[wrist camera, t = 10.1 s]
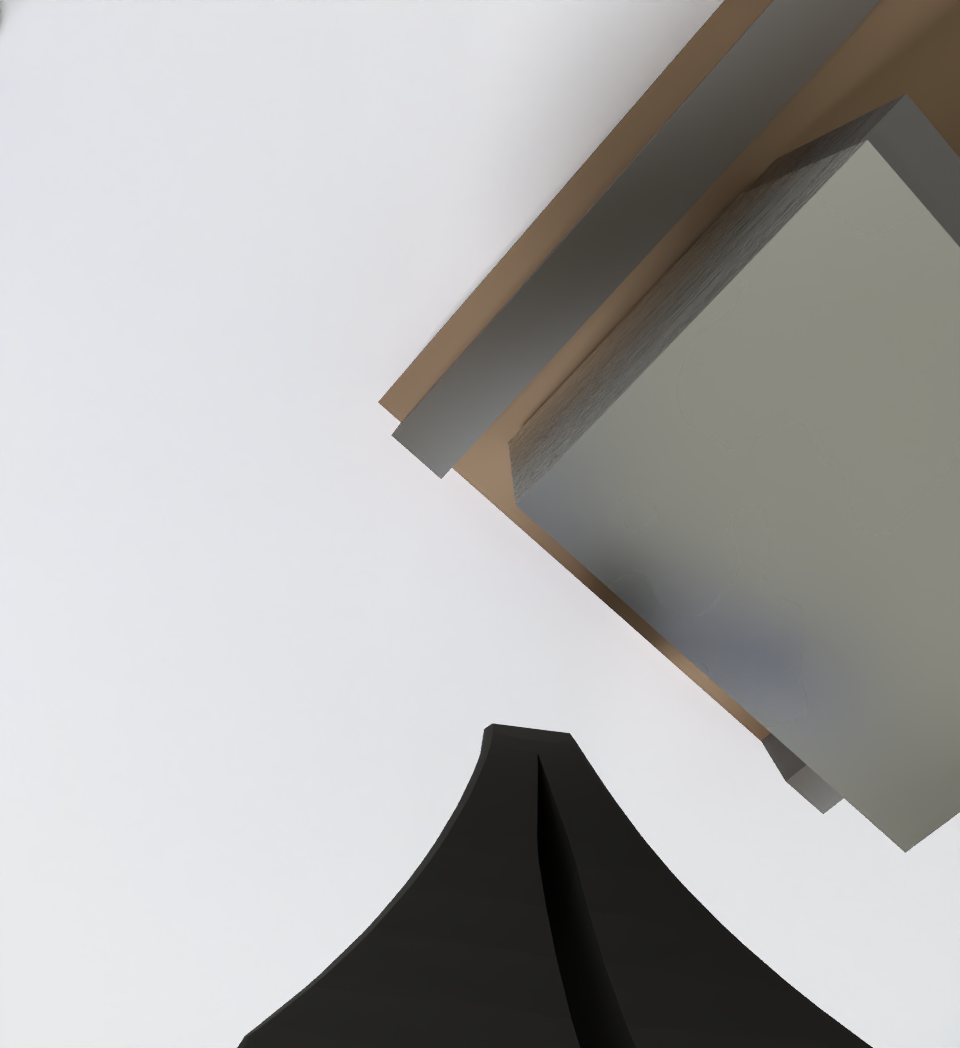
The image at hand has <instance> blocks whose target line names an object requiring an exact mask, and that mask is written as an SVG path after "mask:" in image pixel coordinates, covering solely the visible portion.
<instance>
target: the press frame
mask: <svg viewBox="0 0 960 1048" xmlns="http://www.w3.org/2000/svg"><path fill="white" fill-rule="evenodd" d="M904 94H907V95H908V96H909V97H910V99H911V100H912V101H913V102H914V103H915V105H916V106H917V107H918V108H919V110H920V111H921V112H922V113H923V114H924V116H925V117H926V118H927V119H928V120H929V122H930V123H931V124H932V125H933V126H934V128H935V129H936V130H937V131H938V132H939V134H940V135H941V136H942V137H943V138H944V140H945V141H946V142H947V143H948V144H949V146H950V147H951V148H952V149H953V150H954V152H955V153H956V154H957V155H958V156H959V158H960V0H725V1H724V2H723V3H722V4H721V5H720V6H719V8H718V9H717V10H716V11H715V12H714V13H713V14H712V16H711V17H710V18H709V19H708V20H707V21H706V23H705V24H704V25H703V26H702V27H701V28H700V30H699V31H698V32H697V33H696V34H695V35H694V36H693V38H692V39H691V40H690V41H689V42H688V43H687V45H686V46H685V47H684V48H683V49H682V50H681V52H680V53H679V54H678V55H677V56H676V57H675V59H674V60H673V61H672V62H671V63H670V64H669V65H668V67H667V68H666V69H665V70H664V71H663V72H662V74H661V75H660V76H659V77H658V78H657V79H656V81H655V82H654V83H653V84H652V85H651V86H650V88H649V89H648V90H647V91H646V92H645V93H644V94H643V96H642V97H641V98H640V99H639V100H638V101H637V103H636V104H635V105H634V106H633V107H632V108H631V110H630V111H629V112H628V113H627V114H626V115H625V117H624V118H623V119H622V120H621V121H620V122H619V123H618V125H617V126H616V127H615V128H614V129H613V130H612V132H611V133H610V134H609V135H608V136H607V137H606V139H605V140H604V141H603V142H602V143H601V144H600V145H599V147H598V148H597V149H596V150H595V151H594V152H593V154H592V155H591V156H590V157H589V158H588V159H587V161H586V162H585V163H584V164H583V165H582V166H581V168H580V169H579V170H578V171H577V172H576V173H575V174H574V176H573V177H572V178H571V179H570V180H569V181H568V183H567V184H566V185H565V186H564V187H563V188H562V190H561V191H560V192H559V193H558V194H557V195H556V197H555V198H554V199H553V200H552V201H551V202H550V203H549V205H548V206H547V207H546V208H545V209H544V210H543V212H542V213H541V214H540V215H539V216H538V217H537V219H536V220H535V221H534V222H533V223H532V224H531V226H530V227H529V228H528V229H527V230H526V231H525V232H524V234H523V235H522V236H521V237H520V238H519V239H518V241H517V242H516V243H515V244H514V245H513V246H512V248H511V249H510V250H509V251H508V252H507V253H506V255H505V256H504V257H503V258H502V259H501V260H500V261H499V263H498V264H497V265H496V266H495V267H494V268H493V270H492V271H491V272H490V273H489V274H488V275H487V277H486V278H485V279H484V280H483V281H482V282H481V283H480V285H479V286H478V287H477V288H476V289H475V290H474V292H473V293H472V294H471V295H470V296H469V297H468V299H467V300H466V301H465V302H464V303H463V304H462V306H461V307H460V308H459V309H458V310H457V311H456V312H455V314H454V315H453V316H452V317H451V318H450V319H449V321H448V322H447V323H446V324H445V325H444V326H443V328H442V329H441V330H440V331H439V332H438V333H437V335H436V336H435V337H434V338H433V339H432V340H431V341H430V343H429V344H428V345H427V346H426V347H425V348H424V350H423V351H422V352H421V353H420V354H419V355H418V357H417V358H416V359H415V360H414V361H413V362H412V364H411V365H410V366H409V367H408V368H407V369H406V370H405V372H404V373H403V374H402V375H401V376H400V377H399V379H398V380H397V381H396V382H395V383H394V384H393V386H392V387H391V388H390V389H389V390H388V391H387V392H386V394H385V395H384V396H383V397H382V398H381V399H380V401H379V403H380V404H381V405H382V406H383V407H384V408H385V409H386V410H388V411H389V412H390V413H391V414H392V415H393V416H394V417H395V418H397V419H398V420H399V421H400V422H401V423H400V425H399V426H398V427H397V429H396V430H395V431H394V433H393V434H392V436H393V437H394V438H395V439H396V440H397V441H399V442H400V443H401V444H402V445H403V446H404V447H405V448H406V449H408V450H409V451H410V452H411V453H412V454H413V455H414V456H416V457H417V458H418V459H419V460H420V461H421V462H422V463H424V464H425V465H426V466H427V467H428V468H429V469H430V470H432V471H433V472H434V473H435V474H436V475H437V476H438V477H440V478H441V479H442V478H443V477H444V475H445V474H446V473H447V472H448V471H449V470H450V469H451V468H453V469H454V470H455V471H457V472H458V473H459V474H460V475H461V476H462V477H463V478H464V479H466V480H467V481H468V482H469V483H470V484H471V485H472V486H473V487H475V488H476V489H477V490H478V491H479V492H480V493H481V494H483V495H484V496H485V497H486V498H487V499H488V500H489V501H490V502H492V503H493V504H494V505H495V506H496V507H497V508H498V509H499V510H501V511H502V512H503V513H504V514H505V515H506V516H507V517H509V518H510V519H511V520H512V521H513V522H514V523H515V524H516V525H518V526H519V527H520V528H521V529H522V530H523V531H524V532H525V533H527V534H528V535H529V536H530V537H531V538H532V539H533V540H535V541H536V542H537V543H538V544H539V545H540V546H541V547H542V548H544V549H545V550H546V551H547V552H548V553H549V554H550V555H551V556H553V557H554V558H555V559H556V560H557V561H558V562H559V563H561V564H562V565H563V566H564V567H565V568H566V569H567V570H568V571H570V572H571V573H572V574H573V575H574V576H575V577H576V578H577V579H579V580H580V581H581V582H582V583H583V584H584V585H585V586H587V587H588V588H589V589H590V590H591V591H592V592H593V593H594V594H596V595H597V596H598V597H599V598H600V599H601V600H602V601H603V602H605V603H606V604H607V605H608V606H609V607H610V608H611V609H613V610H614V611H615V612H616V613H617V614H618V615H619V616H620V617H622V618H623V619H624V620H625V621H626V622H627V623H628V624H629V625H631V626H632V627H633V628H634V629H635V630H636V631H637V632H639V633H640V634H641V635H642V636H643V637H644V638H645V639H646V640H648V641H649V642H650V643H651V644H652V645H653V646H654V647H655V648H657V649H658V650H659V651H660V652H661V653H662V654H663V655H665V656H666V657H667V658H668V659H669V660H670V661H671V662H672V663H674V664H675V665H676V666H677V667H678V668H679V669H680V670H681V671H683V672H684V673H685V674H686V675H687V676H688V677H689V678H690V679H692V680H693V681H694V682H695V683H696V684H697V685H698V686H700V687H701V688H702V689H703V690H704V691H705V692H706V693H707V694H709V695H710V696H711V697H712V698H713V699H714V700H715V701H716V702H718V703H719V704H720V705H721V706H722V707H723V708H724V709H726V710H727V711H728V712H729V713H730V714H731V715H732V716H733V717H735V718H736V719H737V720H738V721H739V722H740V723H741V724H742V725H744V726H745V727H746V728H747V729H748V730H749V731H750V732H752V733H753V734H754V735H755V736H756V737H757V738H758V739H759V740H761V741H762V743H763V745H764V746H765V748H766V750H767V751H768V753H769V755H770V756H771V758H772V759H773V761H774V763H775V764H776V766H777V768H778V769H779V771H780V773H781V774H782V776H783V777H784V779H785V781H786V782H787V783H788V784H789V785H791V786H792V787H793V788H794V789H795V790H796V791H797V792H799V793H800V794H801V795H802V796H803V797H804V798H805V799H807V800H808V801H809V802H810V803H811V804H812V805H813V806H815V807H816V808H817V809H818V810H819V811H820V812H821V813H823V814H824V813H825V812H827V811H828V810H829V809H830V808H832V807H833V806H834V805H836V804H837V803H838V802H839V801H841V800H842V799H843V798H844V797H842V796H841V795H840V794H839V793H838V792H837V791H836V790H835V789H833V788H832V787H831V786H830V785H829V784H828V783H827V782H826V781H824V780H823V779H822V778H821V777H820V776H819V775H818V774H817V773H815V772H814V771H813V770H812V769H811V768H810V767H809V766H808V765H806V764H805V763H804V762H803V761H802V760H801V759H800V758H799V757H797V756H796V755H795V754H794V753H793V752H792V751H791V750H790V749H789V748H787V747H786V746H785V745H784V744H783V743H782V742H781V741H780V740H778V739H777V738H776V737H775V736H774V735H773V734H772V733H771V732H769V731H768V730H767V729H766V728H765V727H764V726H763V725H762V724H760V723H759V722H758V721H757V720H756V719H755V718H754V717H753V716H751V715H750V714H749V713H748V712H747V711H746V710H745V709H744V708H743V707H741V706H740V705H739V704H738V703H737V702H736V701H735V700H734V699H732V698H731V697H730V696H729V695H728V694H727V693H726V692H725V691H723V690H722V689H721V688H720V687H719V686H718V685H717V684H716V683H714V682H713V681H712V680H711V679H710V678H709V677H708V676H707V675H705V674H704V673H703V672H702V671H701V670H700V669H699V668H698V667H697V666H695V665H694V664H693V663H692V662H691V661H690V660H689V659H688V658H686V657H685V656H684V655H683V654H682V653H681V652H680V651H679V650H677V649H676V648H675V647H674V646H673V645H672V644H671V643H670V642H668V641H667V640H666V639H665V638H664V637H663V636H662V635H661V634H659V633H658V632H657V631H656V630H655V629H654V628H653V627H652V626H651V625H649V624H648V623H647V622H646V621H645V620H644V619H643V618H642V617H640V616H639V615H638V614H637V613H636V612H635V611H634V610H633V609H631V608H630V607H629V606H628V605H627V604H626V603H625V602H624V601H622V600H621V599H620V598H619V597H618V596H617V595H616V594H615V593H613V592H612V591H611V590H610V589H609V588H608V587H607V586H606V585H605V584H603V583H602V582H601V581H600V580H599V579H598V578H597V577H596V576H594V575H593V574H592V573H591V572H590V571H589V570H588V569H587V568H585V567H584V566H583V565H582V564H581V563H580V562H579V561H578V560H576V559H575V558H574V557H573V556H572V555H571V554H570V553H569V552H567V551H566V550H565V549H564V548H563V547H562V546H561V545H560V544H559V543H557V542H556V541H555V540H554V539H553V538H552V537H551V536H550V535H548V534H547V533H546V532H545V531H544V530H543V529H542V528H541V527H539V526H538V525H537V524H536V523H535V522H534V521H533V520H532V519H530V518H529V517H528V516H527V515H526V514H525V513H524V512H523V511H521V510H520V509H519V508H518V507H517V506H516V505H515V497H514V488H513V479H512V470H511V461H510V452H509V443H508V442H509V441H510V440H511V439H512V438H513V437H514V436H515V435H516V433H517V432H518V431H519V430H520V429H521V428H522V427H523V426H524V425H525V424H526V423H527V422H528V421H529V420H530V418H531V417H532V416H533V415H534V414H535V413H536V412H537V411H538V410H539V409H540V408H541V407H542V406H543V405H544V403H545V402H546V401H547V400H548V399H549V398H550V397H551V396H552V395H553V394H554V393H555V392H556V391H557V390H558V389H559V387H560V386H561V385H562V384H563V383H564V382H565V381H566V380H567V379H568V378H569V377H570V376H571V375H572V374H573V372H574V371H575V370H576V369H577V368H578V367H579V366H580V365H581V364H582V363H583V362H584V361H585V360H586V359H587V357H588V356H589V355H590V354H591V353H592V352H593V351H594V350H595V349H596V348H597V347H598V346H599V345H600V344H601V342H602V341H603V340H604V339H605V338H606V337H607V336H608V335H609V334H610V333H611V332H612V331H613V330H614V329H615V327H616V326H617V325H618V324H619V323H620V322H621V321H622V320H623V319H624V318H625V317H626V316H627V315H628V314H629V313H630V311H631V310H632V309H633V308H634V307H635V306H636V305H637V304H638V303H639V302H640V301H641V300H642V299H643V298H644V296H645V295H646V294H647V293H648V292H649V291H650V290H651V289H652V288H653V287H654V286H655V285H656V284H657V283H658V281H659V280H660V279H661V278H662V277H663V276H664V275H665V274H666V273H667V272H668V271H669V270H670V269H671V268H672V266H673V265H674V264H675V263H676V262H677V261H678V260H679V259H680V258H681V257H682V256H683V255H684V254H685V253H686V251H687V250H688V249H689V248H690V247H691V246H692V245H693V244H694V243H695V242H696V241H697V240H698V239H699V238H700V237H701V235H702V234H703V233H704V232H705V231H706V230H707V229H708V228H709V227H710V226H711V225H712V224H713V223H714V222H715V220H716V219H717V218H718V217H719V216H720V215H721V214H722V213H723V212H724V211H725V210H726V209H727V208H728V207H729V205H730V204H731V203H732V202H733V201H734V200H735V199H736V198H737V197H738V196H739V195H740V194H742V193H744V192H745V191H746V190H747V189H748V188H749V187H750V186H751V185H752V184H753V183H754V182H755V181H756V179H757V178H758V177H759V176H760V175H761V174H762V173H763V172H764V171H765V170H766V169H767V168H768V167H769V166H770V165H771V163H772V162H773V161H774V160H775V159H777V158H779V157H781V156H782V155H784V154H786V153H788V152H790V151H792V150H794V149H796V148H798V147H800V146H802V145H804V144H806V143H808V142H810V141H812V140H814V139H816V138H818V137H820V136H822V135H824V134H826V133H828V132H830V131H832V130H834V129H836V128H838V127H840V126H842V125H844V124H846V123H848V122H850V121H852V120H854V119H856V118H858V117H860V116H862V115H864V114H866V113H868V112H870V111H872V110H874V109H876V108H878V107H880V106H882V105H884V104H886V103H888V102H890V101H892V100H894V99H896V98H898V97H900V96H902V95H904Z"/></svg>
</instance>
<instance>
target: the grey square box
mask: <svg viewBox="0 0 960 1048" xmlns="http://www.w3.org/2000/svg"><path fill="white" fill-rule="evenodd" d="M508 443H509V452H510V461H511V470H512V479H513V488H514V497H515V505H516V506H517V507H518V508H519V509H520V510H521V511H523V512H524V513H525V514H526V515H527V516H528V517H529V518H530V519H532V520H533V521H534V522H535V523H536V524H537V525H538V526H539V527H541V528H542V529H543V530H544V531H545V532H546V533H547V534H548V535H550V536H551V537H552V538H553V539H554V540H555V541H556V542H557V543H559V544H560V545H561V546H562V547H563V548H564V549H565V550H566V551H567V552H569V553H570V554H571V555H572V556H573V557H574V558H575V559H576V560H578V561H579V562H580V563H581V564H582V565H583V566H584V567H585V568H587V569H588V570H589V571H590V572H591V573H592V574H593V575H594V576H596V577H597V578H598V579H599V580H600V581H601V582H602V583H603V584H605V585H606V586H607V587H608V588H609V589H610V590H611V591H612V592H613V593H615V594H616V595H617V596H618V597H619V598H620V599H621V600H622V601H624V602H625V603H626V604H627V605H628V606H629V607H630V608H631V609H633V610H634V611H635V612H636V613H637V614H638V615H639V616H640V617H642V618H643V619H644V620H645V621H646V622H647V623H648V624H649V625H651V626H652V627H653V628H654V629H655V630H656V631H657V632H658V633H659V634H661V635H662V636H663V637H664V638H665V639H666V640H667V641H668V642H670V643H671V644H672V645H673V646H674V647H675V648H676V649H677V650H679V651H680V652H681V653H682V654H683V655H684V656H685V657H686V658H688V659H689V660H690V661H691V662H692V663H693V664H694V665H695V666H697V667H698V668H699V669H700V670H701V671H702V672H703V673H704V674H705V675H707V676H708V677H709V678H710V679H711V680H712V681H713V682H714V683H716V684H717V685H718V686H719V687H720V688H721V689H722V690H723V691H725V692H726V693H727V694H728V695H729V696H730V697H731V698H732V699H734V700H735V701H736V702H737V703H738V704H739V705H740V706H741V707H743V708H744V709H745V710H746V711H747V712H748V713H749V714H750V715H751V716H753V717H754V718H755V719H756V720H757V721H758V722H759V723H760V724H762V725H763V726H764V727H765V728H766V729H767V730H768V731H769V732H771V733H772V734H773V735H774V736H775V737H776V738H777V739H778V740H780V741H781V742H782V743H783V744H784V745H785V746H786V747H787V748H789V749H790V750H791V751H792V752H793V753H794V754H795V755H796V756H797V757H799V758H800V759H801V760H802V761H803V762H804V763H805V764H806V765H808V766H809V767H810V768H811V769H812V770H813V771H814V772H815V773H817V774H818V775H819V776H820V777H821V778H822V779H823V780H824V781H826V782H827V783H828V784H829V785H830V786H831V787H832V788H833V789H835V790H836V791H837V792H838V793H839V794H840V795H841V796H842V797H844V798H845V799H846V800H847V801H848V802H849V803H850V804H851V805H852V806H854V807H855V808H856V809H857V810H858V811H859V812H860V813H861V814H863V815H864V816H865V817H866V818H867V819H868V820H869V821H870V822H872V823H873V824H874V825H875V826H876V827H877V828H878V829H879V830H881V831H882V832H883V833H884V834H885V835H886V836H887V837H888V838H890V839H891V840H892V841H893V842H894V843H895V844H896V845H897V846H898V847H900V848H901V849H902V850H903V851H904V852H907V851H908V850H909V849H911V848H912V847H913V846H915V845H916V844H918V843H919V842H920V841H922V840H923V839H924V838H926V837H927V836H928V835H930V834H931V833H932V832H934V831H935V830H936V829H938V828H939V827H940V826H942V825H943V824H944V823H946V822H947V821H949V820H950V819H951V818H953V817H954V816H955V815H957V814H958V813H959V812H960V158H959V156H958V155H957V154H956V153H955V152H954V150H953V149H952V148H951V147H950V146H949V144H948V143H947V142H946V141H945V140H944V138H943V137H942V136H941V135H940V134H939V132H938V131H937V130H936V129H935V128H934V126H933V125H932V124H931V123H930V122H929V120H928V119H927V118H926V117H925V116H924V114H923V113H922V112H921V111H920V110H919V108H918V107H917V106H916V105H915V103H914V102H913V101H912V100H911V99H910V97H909V96H908V95H907V94H904V95H902V96H900V97H898V98H896V99H894V100H892V101H890V102H888V103H886V104H884V105H882V106H880V107H878V108H876V109H874V110H872V111H870V112H868V113H866V114H864V115H862V116H860V117H858V118H856V119H854V120H852V121H850V122H848V123H846V124H844V125H842V126H840V127H838V128H836V129H834V130H832V131H830V132H828V133H826V134H824V135H822V136H820V137H818V138H816V139H814V140H812V141H810V142H808V143H806V144H804V145H802V146H800V147H798V148H796V149H794V150H792V151H790V152H788V153H786V154H784V155H782V156H781V157H779V158H777V159H775V160H774V161H773V162H772V163H771V165H770V166H769V167H768V168H767V169H766V170H765V171H764V172H763V173H762V174H761V175H760V176H759V177H758V178H757V179H756V181H755V182H754V183H753V184H752V185H751V186H750V187H749V188H748V189H747V190H746V191H745V192H744V193H742V194H740V195H739V196H738V197H737V198H736V199H735V200H734V201H733V202H732V203H731V204H730V205H729V207H728V208H727V209H726V210H725V211H724V212H723V213H722V214H721V215H720V216H719V217H718V218H717V219H716V220H715V222H714V223H713V224H712V225H711V226H710V227H709V228H708V229H707V230H706V231H705V232H704V233H703V234H702V235H701V237H700V238H699V239H698V240H697V241H696V242H695V243H694V244H693V245H692V246H691V247H690V248H689V249H688V250H687V251H686V253H685V254H684V255H683V256H682V257H681V258H680V259H679V260H678V261H677V262H676V263H675V264H674V265H673V266H672V268H671V269H670V270H669V271H668V272H667V273H666V274H665V275H664V276H663V277H662V278H661V279H660V280H659V281H658V283H657V284H656V285H655V286H654V287H653V288H652V289H651V290H650V291H649V292H648V293H647V294H646V295H645V296H644V298H643V299H642V300H641V301H640V302H639V303H638V304H637V305H636V306H635V307H634V308H633V309H632V310H631V311H630V313H629V314H628V315H627V316H626V317H625V318H624V319H623V320H622V321H621V322H620V323H619V324H618V325H617V326H616V327H615V329H614V330H613V331H612V332H611V333H610V334H609V335H608V336H607V337H606V338H605V339H604V340H603V341H602V342H601V344H600V345H599V346H598V347H597V348H596V349H595V350H594V351H593V352H592V353H591V354H590V355H589V356H588V357H587V359H586V360H585V361H584V362H583V363H582V364H581V365H580V366H579V367H578V368H577V369H576V370H575V371H574V372H573V374H572V375H571V376H570V377H569V378H568V379H567V380H566V381H565V382H564V383H563V384H562V385H561V386H560V387H559V389H558V390H557V391H556V392H555V393H554V394H553V395H552V396H551V397H550V398H549V399H548V400H547V401H546V402H545V403H544V405H543V406H542V407H541V408H540V409H539V410H538V411H537V412H536V413H535V414H534V415H533V416H532V417H531V418H530V420H529V421H528V422H527V423H526V424H525V425H524V426H523V427H522V428H521V429H520V430H519V431H518V432H517V433H516V435H515V436H514V437H513V438H512V439H511V440H510V441H509V442H508Z"/></svg>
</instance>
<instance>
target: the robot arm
mask: <svg viewBox="0 0 960 1048" xmlns="http://www.w3.org/2000/svg"><path fill="white" fill-rule="evenodd" d="M237 1048H873V1047H871V1046H870V1045H868V1044H867V1043H866V1042H864V1041H863V1040H862V1039H860V1038H859V1037H858V1036H856V1035H855V1034H853V1033H852V1032H851V1031H849V1030H848V1029H847V1028H845V1027H844V1026H843V1025H841V1024H840V1023H839V1022H837V1021H836V1020H835V1019H833V1018H832V1017H831V1016H829V1015H828V1014H827V1013H825V1012H824V1011H823V1010H821V1009H820V1008H819V1007H817V1006H816V1005H815V1004H814V1003H812V1002H811V1001H810V1000H809V999H807V998H806V997H805V996H804V995H802V994H801V993H800V992H799V991H797V990H796V989H795V988H794V987H792V986H791V985H790V984H789V983H787V982H786V981H785V980H784V979H783V978H782V977H780V976H779V975H778V974H777V973H776V972H775V971H773V970H772V969H771V968H770V967H769V966H768V965H767V964H765V963H764V962H763V961H762V960H761V959H760V958H759V957H757V956H756V955H755V954H754V953H753V952H752V951H750V950H749V949H748V948H747V947H746V946H745V945H744V944H742V943H741V942H740V941H739V940H738V939H737V938H736V937H735V936H734V935H733V934H732V933H731V932H730V931H729V930H727V929H726V928H725V927H724V926H723V925H722V924H721V923H720V922H719V921H718V920H717V919H716V918H715V917H714V916H713V915H712V914H711V913H710V912H709V911H708V910H707V909H706V908H705V907H704V906H703V905H702V904H701V903H700V902H699V901H698V900H697V899H696V898H695V897H694V896H693V895H692V894H691V893H690V892H689V891H688V889H687V888H686V887H685V886H684V885H683V884H682V883H681V882H680V881H679V880H678V879H677V878H676V876H675V875H674V874H673V873H672V872H671V871H670V870H669V869H668V867H667V866H666V865H665V864H664V863H663V861H662V860H661V859H660V858H659V857H658V855H657V854H656V853H655V852H654V851H653V850H652V848H651V847H650V846H649V845H648V844H647V842H646V841H645V840H644V839H643V837H642V836H641V835H640V833H639V832H638V831H637V830H636V828H635V827H634V825H633V824H632V823H631V821H630V820H629V819H628V817H627V816H626V815H625V813H624V812H623V811H622V809H621V808H620V807H619V805H618V804H617V802H616V801H615V800H614V798H613V797H612V795H611V794H610V792H609V791H608V790H607V788H606V787H605V785H604V784H603V782H602V781H601V779H600V778H599V776H598V775H597V773H596V772H595V770H594V769H593V767H592V766H591V764H590V763H589V761H588V760H587V758H586V757H585V755H584V753H583V752H582V750H581V749H580V747H579V746H578V744H577V743H576V741H575V740H574V738H573V737H572V736H571V734H570V733H563V732H555V731H547V730H539V729H531V728H523V727H516V726H508V725H500V724H491V725H490V726H488V727H487V728H485V729H484V734H483V740H482V747H481V753H480V756H479V759H478V762H477V764H476V767H475V770H474V772H473V775H472V777H471V779H470V781H469V783H468V785H467V787H466V789H465V791H464V793H463V795H462V798H461V800H460V802H459V803H458V805H457V807H456V809H455V811H454V812H453V814H452V816H451V817H450V819H449V821H448V822H447V824H446V826H445V827H444V829H443V831H442V832H441V834H440V836H439V837H438V839H437V841H436V842H435V844H434V845H433V847H432V848H431V850H430V851H429V853H428V854H427V855H426V857H425V858H424V860H423V861H422V863H421V864H420V865H419V867H418V868H417V869H416V871H415V872H414V873H413V875H412V876H411V877H410V879H409V880H408V881H407V883H406V884H405V885H404V886H403V888H402V889H401V890H400V891H399V892H398V893H397V895H396V896H395V897H394V898H393V899H392V901H391V902H390V903H389V904H388V905H387V907H386V908H385V909H384V910H383V911H382V912H381V914H380V915H379V916H378V917H377V918H376V919H375V920H374V921H373V922H372V924H371V925H370V926H369V927H368V928H367V929H366V930H365V931H364V932H363V933H362V934H361V935H360V936H359V937H358V938H357V939H356V940H355V941H354V942H353V943H352V944H351V945H350V946H349V947H348V948H347V949H346V950H345V951H344V952H343V953H342V954H341V955H340V956H339V957H338V958H336V959H335V960H334V961H333V962H332V963H331V964H330V965H329V966H328V967H327V968H326V969H325V970H324V971H323V972H322V973H321V974H320V975H319V976H318V977H317V978H315V979H314V980H313V981H312V982H311V983H310V984H309V985H308V986H306V987H305V988H304V989H303V990H302V991H300V992H299V993H298V994H297V995H295V996H294V997H293V998H292V999H290V1000H289V1001H288V1002H287V1003H286V1004H284V1005H283V1006H282V1007H281V1008H279V1009H278V1010H277V1011H276V1012H274V1013H273V1014H272V1015H271V1016H269V1017H268V1018H267V1019H266V1020H264V1021H263V1022H262V1023H261V1024H260V1025H258V1026H257V1027H256V1028H255V1029H253V1030H252V1031H251V1032H249V1033H248V1034H247V1035H246V1036H245V1037H244V1038H243V1040H242V1041H241V1043H240V1044H239V1046H238V1047H237Z"/></svg>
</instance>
